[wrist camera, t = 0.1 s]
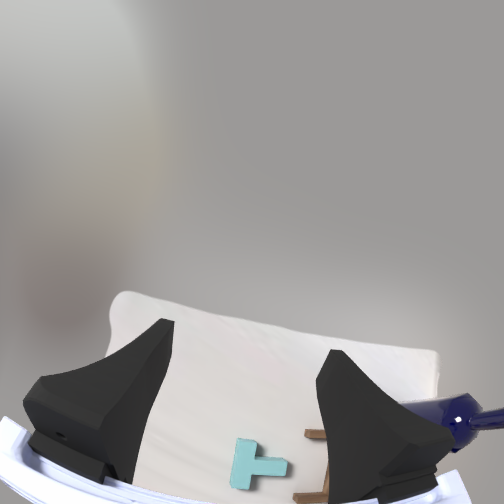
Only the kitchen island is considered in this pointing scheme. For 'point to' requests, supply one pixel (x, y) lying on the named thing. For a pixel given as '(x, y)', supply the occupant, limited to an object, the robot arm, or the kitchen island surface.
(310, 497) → the wooden drawer handle
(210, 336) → the kitchen island surface
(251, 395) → the kitchen island surface
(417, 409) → the bottle
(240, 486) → the t block
